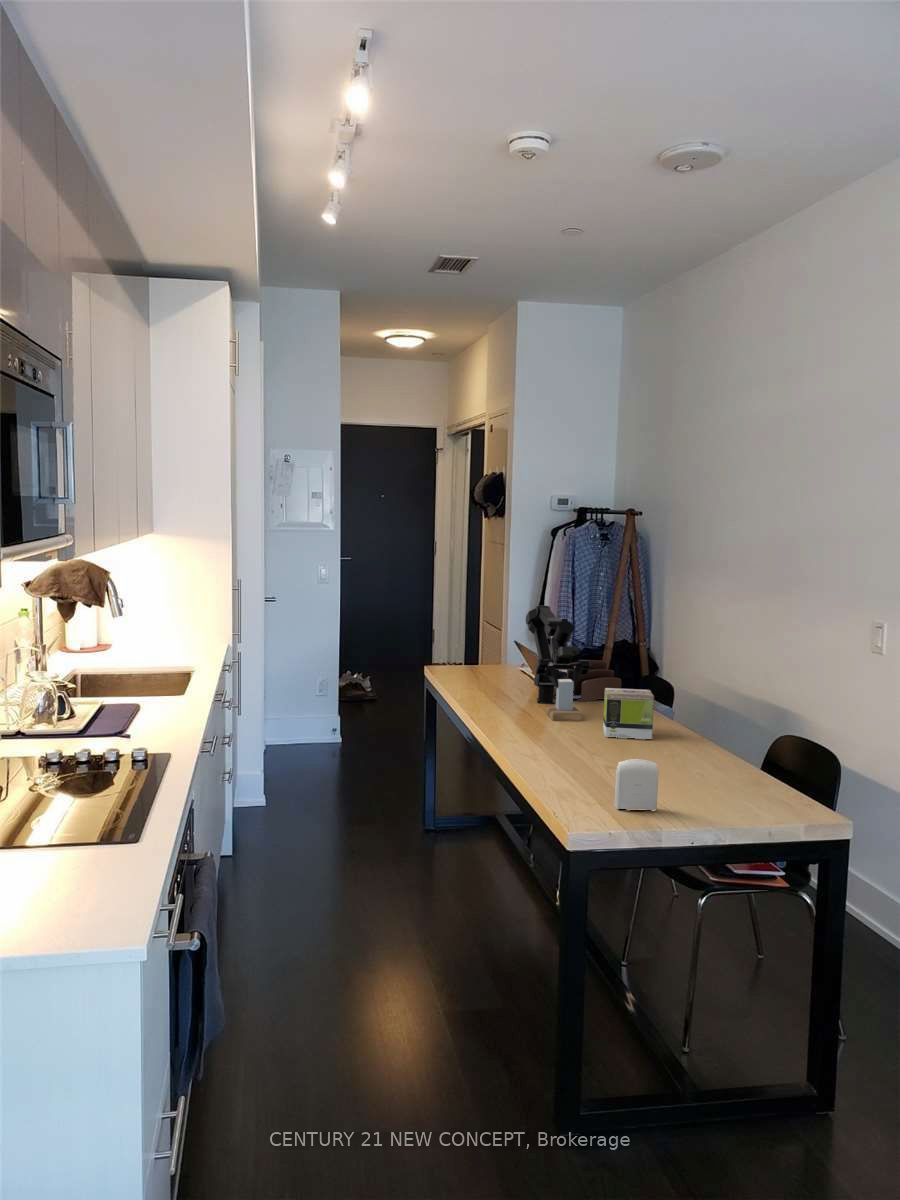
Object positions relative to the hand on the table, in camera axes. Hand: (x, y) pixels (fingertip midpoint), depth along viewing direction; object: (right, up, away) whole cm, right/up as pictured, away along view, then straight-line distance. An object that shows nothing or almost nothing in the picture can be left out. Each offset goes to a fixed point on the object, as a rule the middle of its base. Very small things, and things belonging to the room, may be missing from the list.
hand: (566, 687), depth 306 cm
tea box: (+17, -14, -18) cm, 29 cm away
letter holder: (+15, -8, +38) cm, 42 cm away
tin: (0, -8, +2) cm, 8 cm away
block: (-1, -11, +3) cm, 12 cm away
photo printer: (+5, -21, -89) cm, 92 cm away
